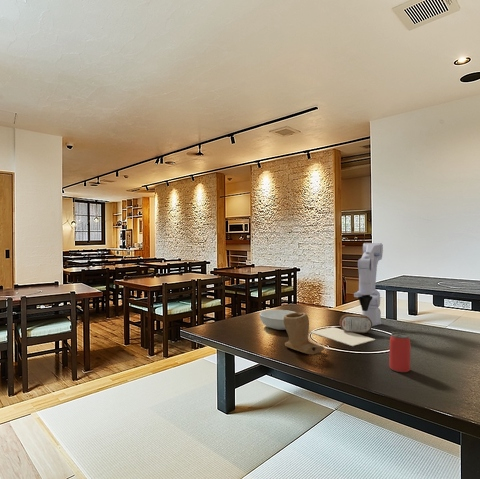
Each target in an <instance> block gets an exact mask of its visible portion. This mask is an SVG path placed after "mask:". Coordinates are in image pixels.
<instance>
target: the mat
mask: <svg viewBox="0 0 480 479" xmlns="http://www.w3.org/2000/svg"><path fill="white" fill-rule="evenodd" d="M310 334H313V335H316V336H320V337H323V338H326V339H327V340H332V341H335V342H338V343H341V344H344V345H347V346H350V347H355V346H359V345H363V344H366V343H369V342H374V341H376V339H375V338H372V337H369V336H365V335H362V334H360V333H354V332H346V331H344V330H343V329H342V328H341V329H340V328H338V327H334V326H333V327H332V326H331V327H326V328H322V329H317V330H313V331H310Z"/></svg>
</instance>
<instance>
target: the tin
mask: <svg viewBox="0 0 480 479" xmlns="http://www.w3.org/2000/svg"><path fill="white" fill-rule="evenodd" d="M338 323H339V326H340V328H341V330H344V331H346V332H352V333H355V334H368V333H369V332H370V331H371V330H372V329H373V326H372V321H371V320H370V318H369V317H367V316H365V315H362V314H352V313H345V314H343V315H342V316H340V318H339V322H338Z"/></svg>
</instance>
